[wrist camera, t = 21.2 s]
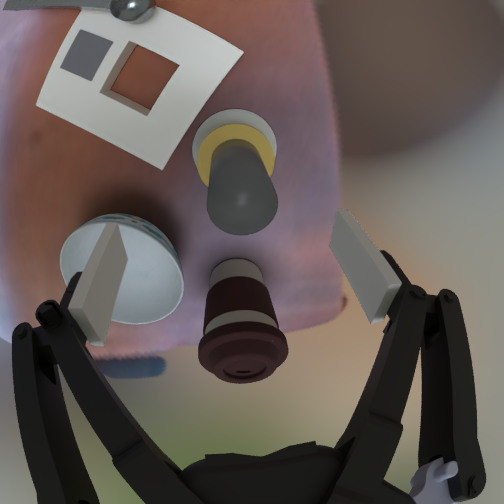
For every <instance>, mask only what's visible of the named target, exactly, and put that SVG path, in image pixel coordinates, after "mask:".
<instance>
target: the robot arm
mask: <svg viewBox="0 0 504 504" xmlns="http://www.w3.org/2000/svg"><path fill="white" fill-rule="evenodd" d="M329 246H330V248H331V250H332V252H333V253H334V255H335V257H336V259H337V260H338V262H339V264H340V266H341V268H342V270H343V271H344V273H345V275H346V277H347V279H348V281H349V283H350V284H351V286H352V288H353V290H354V292H355V294H356V296H357V298H358V300H359V302H360V304H361V306H362V308H363V310H364V312H365V314H366V316H367V318H368V320H369V322H370V324H372V323H377V322H382V321H383V320H384V318H385V316H386V314H387V315H388V316H389V318H390V320H389V322H388V323H387V325H386V327H385V329H384V330H383V333H384V336H383V339H382V342H381V345H380V349H379V351H378V354H377V357H376V360H375V363H374V365H373V368H372V371H371V373H370V376H369V378H368V381H367V383H366V386H365V388H364V391H363V393H362V395H361V398H360V400H359V402H358V405H357V407H356V409H355V411H354V413H353V416H352V418H351V420H350V422H349V424H348V426H347V428H346V430H345V432H344V433H343V435H342V436H341V438H340V439H339V441H338V442H337V444H336V446H335V447H334V448H332V447H328V446H322V445H316V442H315V441H312V442H307V443H302V444H297V445H292V446H288V447H286V448H283V449H281V450H279V451H276V452H273V453H271V454H268V455H266V456H261V457H260V456H251V455H242V454H235V453H227V454H207V455H205V459H203V460H199V461H197V462H194V463H193V464H191V465H189V466H188V467H186V468H185V469H184V470H183V471H182V470H181V469H180V468H179V467H178V466H177V465H176V464H175V463H174V462H173V461H172V460H171V459H170V458H168V456H167V455H165V454H164V453H163V452H162V451H161V449H160V448H159V447H158V446H157V445H156V444H155V443H154V442H153V440H152V439H151V438H150V437H149V436H148V435H147V433H146V432H145V431H144V430H143V428H142V427H141V426H140V425H139V424H138V422H137V421H136V420H135V419H134V417H133V416H132V415H131V413H130V412H129V411H128V410H127V408H126V407H125V406H124V404H123V403H122V401H121V400H120V399H119V397H118V396H117V394H116V393H115V392H114V390H113V389H112V387H111V386H110V384H109V383H108V381H107V380H106V378H105V377H104V375H103V373H102V372H101V370H100V369H99V367H98V366H97V364H96V362H95V361H94V359H93V357H92V356H91V354H90V352H89V351H88V349H87V347H86V346H85V344H86V340H88V341H89V343H90V344H91V346H105V343H106V338H107V334H108V330H109V326H110V321H111V317H112V313H113V310H114V306H115V302H116V298H117V295H118V291H119V288H120V284H121V281H122V278H123V274H124V271H125V268H126V265H127V261H128V257H127V254H126V250H125V247H124V244H123V240H122V237H121V233H120V229H119V226H118V223H109V224H106V225H105V227H104V229H103V231H102V233H101V235H100V237H99V239H98V241H97V243H96V245H95V247H94V249H93V251H92V253H91V255H90V257H89V259H88V262H87V264H86V266H85V268H84V270H83V271H82V272H76V273H75V275H74V276H73V277H72V278H71V279H70V282H69V284H68V287H67V288H66V291H65V293H64V295H63V298H62V300H61V302H60V305H59V304H58V303H57V302H56V301H55V300H47V301H45V302H43V303H42V304H41V305H40V306H39V307H38V308H37V310H36V313H35V315H36V319H37V320H38V322H39V323H40V324H41V326H39V327H36V328H32V326H31V325H30V324H29V323H27V322H24V323H21V324H19V325H18V326H17V327H16V328H15V329H14V331H13V334H12V368H13V383H14V393H15V402H16V410H17V416H18V423H19V428H20V434H21V439H22V443H23V448H24V452H25V456H26V459H27V463H28V467H29V470H30V474H31V477H32V480H33V483H34V486H35V489H36V492H37V502H38V504H100V503H99V499H98V496H97V494H96V491H95V489H94V486H93V484H92V481H91V479H90V477H89V474H88V472H87V470H86V467H85V465H84V462H83V459H82V457H81V454H80V451H79V448H78V446H77V443H76V440H75V436H74V433H73V430H72V427H71V423H70V420H69V416H68V412H67V409H66V405H65V401H64V396H63V392H62V388H61V382H60V378H59V372H58V367H57V364H58V365H59V367H60V369H61V371H62V373H63V375H64V377H65V380H66V382H67V383H68V386H69V387H70V389H71V391H72V393H73V395H74V397H75V399H76V401H77V403H78V404H79V406H80V408H81V410H82V411H83V413H84V415H85V416H86V418H87V420H88V421H89V423H90V425H91V426H92V428H93V429H94V431H95V433H96V434H97V436H98V437H99V439H100V440H101V442H102V443H103V445H104V446H105V447H106V449H107V450H108V452H109V453H110V455H111V456H112V458H113V459H112V462H113V464H114V466H115V467H116V469H117V470H118V472H119V473H120V474H121V475H122V477H123V478H124V479H125V480H126V482H127V483H128V484H129V485H130V487H131V488H132V489H133V490H134V491H135V492H136V493H137V495H138V496H139V497H140V498H141V499H142V500H143V501H144V502H145V503H146V504H454V503H458V502H462V501H466V500H470V499H473V498H475V497H477V496H478V495H479V494H480V493H481V492H482V490H483V489H484V487H485V483H486V473H485V468H484V463H483V459H482V454H481V451H480V446H479V442H478V439H477V408H476V395H475V384H474V376H473V367H472V360H471V355H470V349H469V343H468V337H467V333H466V328H465V324H464V319H463V314H462V310H461V306H460V303H459V299H458V297H457V295H455V293H454V292H452V291H451V290H448V289H442V290H441V291H440V292H439V294H438V296H435V295H428V294H427V293H426V291H425V290H424V289H423V288H421V287H419V286H417V285H412V284H411V283H410V281H409V280H408V278H407V277H406V275H405V274H404V273H403V271H402V270H401V268H399V266H398V264H397V263H396V262H395V260H394V259H393V257H392V256H391V255H390V254H388V253H387V252H386V251H384V250H381V251H379V249H378V248H377V247H376V245H375V244H374V243H373V241H372V240H371V239H370V237H369V236H368V235H367V233H366V232H365V231H364V229H363V228H362V227H361V226H360V224H359V223H358V222H357V220H356V219H355V218H354V217H353V216H352V214H351V213H350V212H349V210H348V209H346V210H337V211H336V217H335V222H334V226H333V231H332V236H331V241H330V245H329ZM420 347H421V368H422V405H421V426H420V427H421V428H420V439H419V451H418V463H419V464H418V466H419V469H418V470H417V471H416V473H415V475H414V477H413V478H412V479H411V486H412V489H411V491H410V493H409V494H407V493H405V492H403V491H402V490H400V489H398V488H397V487H395V486H393V485H392V484H390V483H388V482H387V481H385V480H384V477H385V475H386V472H387V470H388V468H389V465H390V463H391V461H392V458H393V456H394V453H395V450H396V448H397V445H398V443H399V440H400V437H401V435H402V431H403V425H402V424H401V418H402V415H403V412H404V409H405V406H406V402H407V399H408V395H409V392H410V388H411V385H412V381H413V377H414V373H415V368H416V364H417V360H418V355H419V350H420Z"/></svg>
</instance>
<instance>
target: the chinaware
mask: <svg viewBox="0 0 504 504" xmlns="http://www.w3.org/2000/svg"><path fill="white" fill-rule="evenodd" d="M109 223H118V226H119V229H120V233H121V237H122V240H123V244H124V247H125V250H126V254H127V257H128V261H127V265H126V268H125V271H124V274H123V278H122V281H121V284H120V288H119V291H118V295H117V298H116V302H115V306H114V310H113V313H112V317H111V320H113V321H116V322H120V323H126V324H146V323H151V322H155V321H158V320H161V319H163V318H165V317H166V316H168V315H169V314H171V313H172V312H173V311H174V310H175V309H176V308H177V306H178V305H179V303H180V301H181V299H182V296H183V291H184V279H183V272H182V268H181V264H180V261H179V258H178V255H177V253H176V251H175V249H174V247H173V246H172V244H171V242H170V241H169V240H168V238H167V237H166V236H165V235H164V234H163V233H162V232H161V231H160V230H159V229H158V228H157V227H156V226H154V225H153V224H151V223H150V222H148V221H146V220H144V219H142V218H140V217H137V216H133V215H129V214H120V213H116V214H107V215H102V216H99V217H96V218H94V219H92V220H90V221H88V222H86V223H84V224H83V225H81V226H80V227H79V228H77V229H76V230H75V231H74V232H73V233H72V234H71V235H70V236H69V237H68V238H67V240H66V241H65V243H64V245H63V247H62V250H61V254H60V268H61V273H62V276H63V279H64V281H65V283H66V285H67V287H68V284H69V282H70V279H71V278H72V277H73V276H74V275H75V273H76V272H82V271H83V270H84V268H85V266H86V264H87V262H88V259H89V257H90V255H91V253H92V251H93V249H94V247H95V245H96V243H97V241H98V239H99V237H100V235H101V233H102V231H103V229H104V227H105V225H106V224H109Z"/></svg>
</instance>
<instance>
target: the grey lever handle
mask: <svg viewBox="0 0 504 504" xmlns="http://www.w3.org/2000/svg"><path fill="white" fill-rule="evenodd" d="M155 6H156V2H155V0H7V1H6V4H5V6H4V9H3V10H14V11H19V10H32V9H80V10H94V11H104V12H111V14H112V15H113V16H114V17H115V18H117V19H120V20H122V21H124V22H127V23H130V24H136V23H140V22H143V21H144V20H146V19H148V18H149V17H150V16H151V15H152V13H153V12H154V10H155Z"/></svg>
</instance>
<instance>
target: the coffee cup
mask: <svg viewBox="0 0 504 504" xmlns="http://www.w3.org/2000/svg"><path fill="white" fill-rule="evenodd" d="M203 335H204V336H203V337H202V339H201V340H200V343H199V347H198V358H199V362H200V364H201V365H202V366H203V367H204V368H205V369H206V370H208V371H209V372H211V373H213V374H215V375H216V376H217V377H218V378H219V379H221V380H223V381H226V382H230V383H238V384H242V383H252V382H256V381H260V380H263V379H265V378H267V377H268V376H270V375H271V374H272V373H273V372H274V371H275V370H276V368H277V367H279V366H280V365H281V364H282V363H283V362H284V361H285V359H286V358H287V355H288V345H287V341H286V337H285V335H284V334H283V333H282V332H281V331H280V330H279V326H278V321H277V318H276V315H275V311H274V308H273V305H272V302H271V298H270V295H269V292H268V290H267V288H266V287H265V284H264V281H263V277H262V274H261V271H260V270H259V268H258V267H257V266H256V265H255V264H254V263H252V262H250V261H247V260H244V259H231V260H227V261H224V262H222V263H221V264H219V265H218V266H217V267H216V268H215V269H214V270H213V272H212V274H211V277H210V286H209V292H208V294H207V298H206V308H205V317H204V327H203Z"/></svg>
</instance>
